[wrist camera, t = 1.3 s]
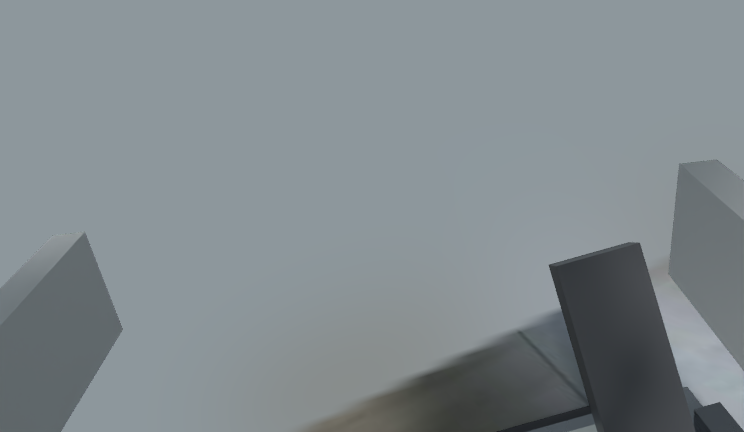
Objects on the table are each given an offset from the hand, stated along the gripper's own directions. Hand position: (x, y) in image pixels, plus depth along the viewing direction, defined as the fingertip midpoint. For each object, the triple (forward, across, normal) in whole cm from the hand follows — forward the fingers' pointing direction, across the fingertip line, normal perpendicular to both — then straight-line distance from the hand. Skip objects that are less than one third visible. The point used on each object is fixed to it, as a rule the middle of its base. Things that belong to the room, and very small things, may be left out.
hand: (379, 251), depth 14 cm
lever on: (+14, +13, -24) cm, 31 cm away
